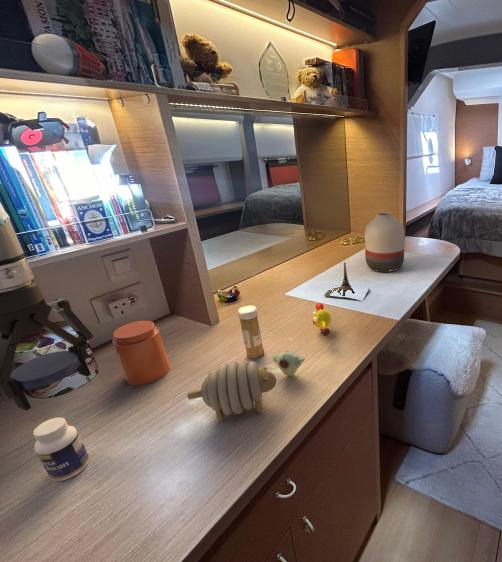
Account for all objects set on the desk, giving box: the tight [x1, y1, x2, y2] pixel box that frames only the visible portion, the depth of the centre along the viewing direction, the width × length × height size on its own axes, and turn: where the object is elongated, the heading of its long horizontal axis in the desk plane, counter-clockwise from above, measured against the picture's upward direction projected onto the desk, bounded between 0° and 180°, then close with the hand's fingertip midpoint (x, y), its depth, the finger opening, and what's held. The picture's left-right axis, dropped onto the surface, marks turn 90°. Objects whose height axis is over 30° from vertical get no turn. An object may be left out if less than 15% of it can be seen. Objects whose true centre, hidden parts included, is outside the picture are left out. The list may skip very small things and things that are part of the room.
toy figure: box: [311, 302, 332, 337], centre depth 99 cm, size 18×6×7 cm, turn 14°
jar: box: [111, 320, 171, 386], centre depth 81 cm, size 9×9×13 cm
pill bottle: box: [32, 416, 90, 482], centre depth 57 cm, size 5×5×10 cm
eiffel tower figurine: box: [323, 259, 355, 297], centre depth 122 cm, size 15×10×13 cm
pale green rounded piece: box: [272, 351, 306, 376], centre depth 80 cm, size 8×4×7 cm, turn 78°
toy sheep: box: [187, 360, 277, 423], centre depth 69 cm, size 11×17×11 cm, turn 112°
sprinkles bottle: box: [237, 305, 265, 359], centre depth 88 cm, size 5×4×13 cm
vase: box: [364, 212, 406, 272], centre depth 145 cm, size 17×17×24 cm
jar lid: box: [10, 350, 80, 391], centre depth 65 cm, size 10×10×2 cm
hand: (56, 389), depth 67 cm, fingers closed on jar lid, 9 cm apart
